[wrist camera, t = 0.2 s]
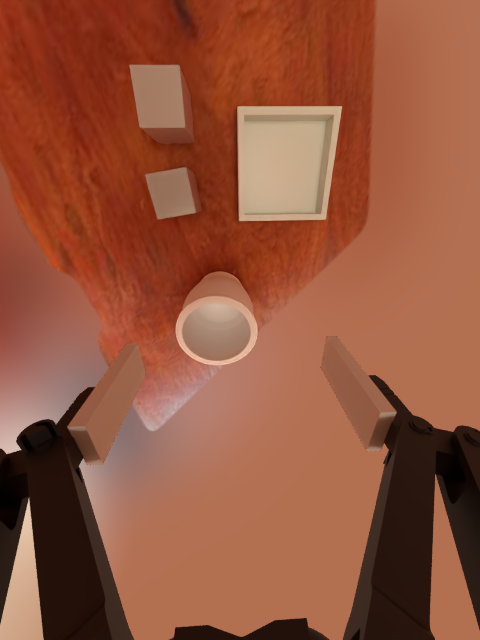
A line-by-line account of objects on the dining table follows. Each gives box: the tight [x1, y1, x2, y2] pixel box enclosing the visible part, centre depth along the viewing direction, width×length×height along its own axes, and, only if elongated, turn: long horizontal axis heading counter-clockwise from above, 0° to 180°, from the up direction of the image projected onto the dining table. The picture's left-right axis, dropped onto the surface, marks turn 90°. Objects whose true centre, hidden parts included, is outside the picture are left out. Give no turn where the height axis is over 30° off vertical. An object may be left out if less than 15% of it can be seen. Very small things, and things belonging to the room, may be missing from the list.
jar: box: [176, 271, 258, 365], centre depth 37 cm, size 11×10×15 cm
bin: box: [237, 106, 342, 221], centre depth 33 cm, size 13×13×4 cm
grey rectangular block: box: [145, 167, 202, 219], centre depth 32 cm, size 5×5×8 cm
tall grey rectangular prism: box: [129, 65, 195, 143], centre depth 28 cm, size 5×5×8 cm
